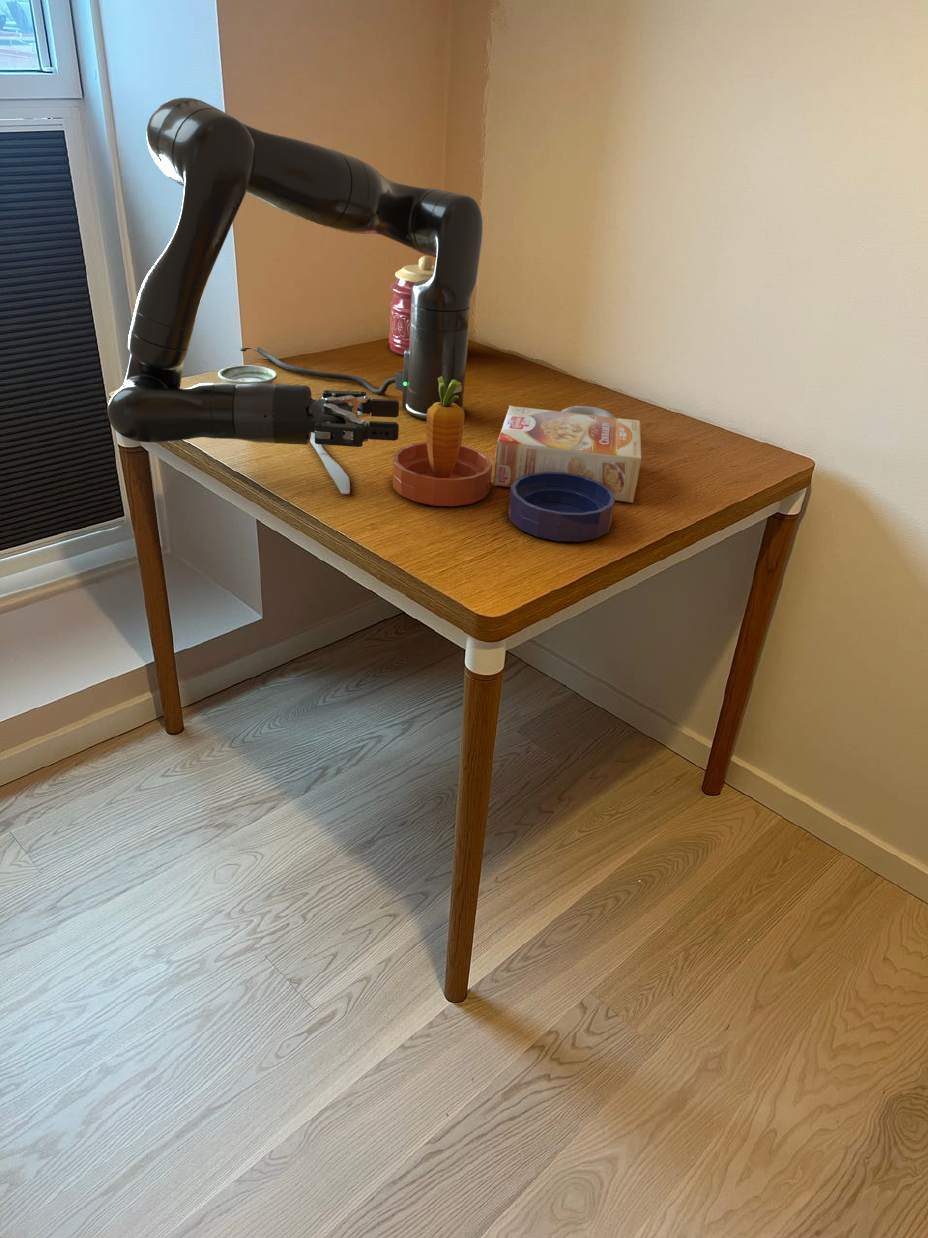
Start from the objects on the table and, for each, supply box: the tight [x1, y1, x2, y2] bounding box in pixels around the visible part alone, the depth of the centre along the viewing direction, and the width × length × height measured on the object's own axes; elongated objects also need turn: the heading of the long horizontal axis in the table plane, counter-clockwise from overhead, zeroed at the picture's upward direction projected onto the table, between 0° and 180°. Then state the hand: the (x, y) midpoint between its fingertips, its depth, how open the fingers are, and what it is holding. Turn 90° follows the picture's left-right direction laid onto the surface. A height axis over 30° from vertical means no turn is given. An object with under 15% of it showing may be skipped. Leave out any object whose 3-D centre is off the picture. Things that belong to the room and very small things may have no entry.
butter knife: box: [309, 432, 351, 495], centre depth 131 cm, size 1×27×3 cm
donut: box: [560, 405, 616, 418], centre depth 146 cm, size 10×4×10 cm
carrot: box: [425, 376, 466, 478], centre depth 121 cm, size 5×5×15 cm
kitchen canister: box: [388, 255, 435, 356], centre depth 176 cm, size 13×13×18 cm
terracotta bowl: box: [392, 441, 493, 507], centre depth 124 cm, size 13×13×4 cm
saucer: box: [217, 364, 278, 384], centre depth 154 cm, size 10×10×2 cm
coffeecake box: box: [493, 404, 642, 504], centre depth 130 cm, size 15×7×20 cm
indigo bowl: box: [507, 472, 616, 543], centre depth 118 cm, size 13×13×4 cm
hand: (398, 419), depth 120 cm, fingers open, 8 cm apart
